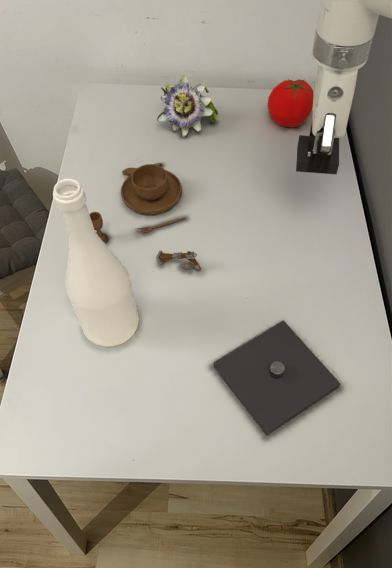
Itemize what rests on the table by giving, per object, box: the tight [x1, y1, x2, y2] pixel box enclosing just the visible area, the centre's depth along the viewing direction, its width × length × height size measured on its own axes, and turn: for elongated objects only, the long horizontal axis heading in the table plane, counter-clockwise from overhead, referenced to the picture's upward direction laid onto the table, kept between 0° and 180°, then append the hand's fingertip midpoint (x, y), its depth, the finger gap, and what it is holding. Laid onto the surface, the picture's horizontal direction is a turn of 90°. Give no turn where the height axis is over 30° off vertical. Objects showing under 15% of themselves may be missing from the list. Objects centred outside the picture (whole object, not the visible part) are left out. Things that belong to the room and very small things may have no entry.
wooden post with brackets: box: [155, 249, 202, 272], centre depth 89 cm, size 2×8×4 cm, turn 69°
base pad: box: [213, 319, 341, 436], centre depth 77 cm, size 14×14×3 cm
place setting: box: [89, 162, 186, 244], centre depth 96 cm, size 18×20×6 cm
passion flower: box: [156, 74, 219, 138], centre depth 107 cm, size 11×11×12 cm
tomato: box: [266, 78, 314, 128], centre depth 106 cm, size 9×10×8 cm
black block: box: [295, 134, 340, 175], centre depth 82 cm, size 7×7×2 cm
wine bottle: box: [52, 178, 140, 348], centre depth 71 cm, size 10×10×30 cm
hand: (317, 155), depth 82 cm, fingers closed on black block, 6 cm apart
